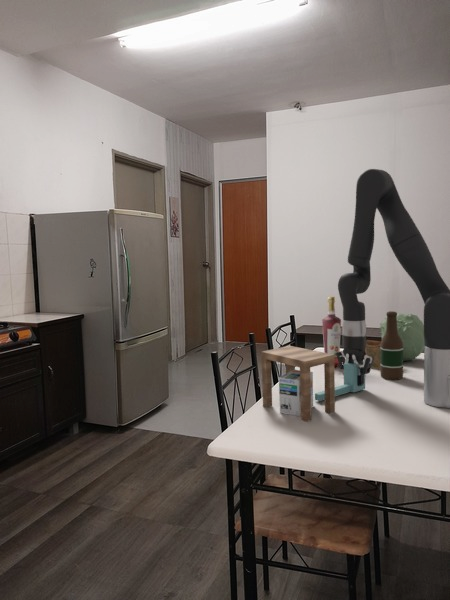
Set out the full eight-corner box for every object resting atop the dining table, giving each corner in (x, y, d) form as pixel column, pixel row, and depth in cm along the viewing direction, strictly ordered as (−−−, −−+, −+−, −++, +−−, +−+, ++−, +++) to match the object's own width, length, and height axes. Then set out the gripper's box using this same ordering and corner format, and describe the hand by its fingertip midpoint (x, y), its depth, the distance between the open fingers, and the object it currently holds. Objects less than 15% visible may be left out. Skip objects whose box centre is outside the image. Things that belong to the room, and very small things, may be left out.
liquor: (330, 369, 185) (329, 298, 182) (319, 365, 191) (318, 297, 188) (345, 366, 188) (344, 297, 185) (333, 362, 194) (333, 295, 191)
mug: (353, 359, 199) (353, 331, 198) (395, 364, 189) (395, 334, 188) (342, 365, 190) (342, 336, 189) (386, 370, 180) (386, 339, 178)
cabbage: (423, 366, 183) (424, 316, 181) (374, 361, 194) (374, 313, 191) (431, 358, 196) (431, 311, 194) (384, 354, 207) (384, 309, 204)
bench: (334, 411, 136) (334, 354, 135) (306, 421, 129) (305, 361, 128) (291, 397, 151) (289, 345, 149) (262, 406, 144) (261, 351, 142)
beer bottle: (379, 379, 168) (379, 313, 165) (381, 374, 175) (381, 310, 172) (402, 381, 165) (403, 313, 162) (403, 375, 172) (403, 310, 170)
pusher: (355, 386, 159) (355, 360, 158) (365, 388, 156) (365, 362, 155) (312, 399, 147) (312, 371, 146) (322, 402, 144) (321, 373, 143)
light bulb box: (300, 416, 133) (299, 380, 132) (278, 413, 137) (277, 377, 136) (314, 405, 142) (313, 371, 141) (293, 402, 146) (292, 368, 145)
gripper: (329, 332, 157) (330, 382, 159) (365, 337, 146) (365, 391, 148) (344, 329, 162) (344, 378, 164) (379, 334, 150) (379, 386, 152)
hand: (354, 384), depth 156 cm, fingers closed on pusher, 4 cm apart
